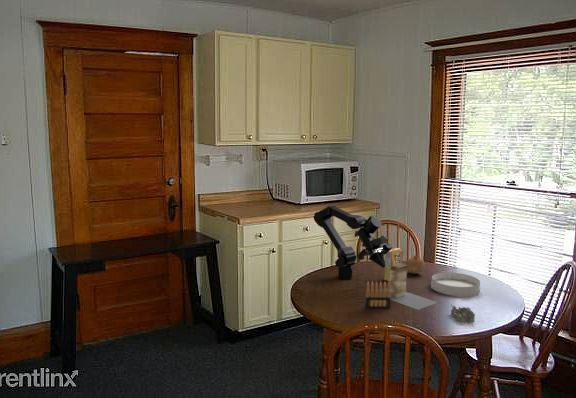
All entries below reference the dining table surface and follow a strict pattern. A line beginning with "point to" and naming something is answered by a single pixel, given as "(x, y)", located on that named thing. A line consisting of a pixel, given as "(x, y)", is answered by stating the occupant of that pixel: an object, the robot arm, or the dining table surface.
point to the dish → (456, 284)
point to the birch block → (398, 280)
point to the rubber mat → (412, 301)
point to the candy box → (392, 261)
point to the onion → (415, 264)
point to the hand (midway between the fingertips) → (384, 267)
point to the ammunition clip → (377, 296)
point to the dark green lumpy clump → (463, 314)
